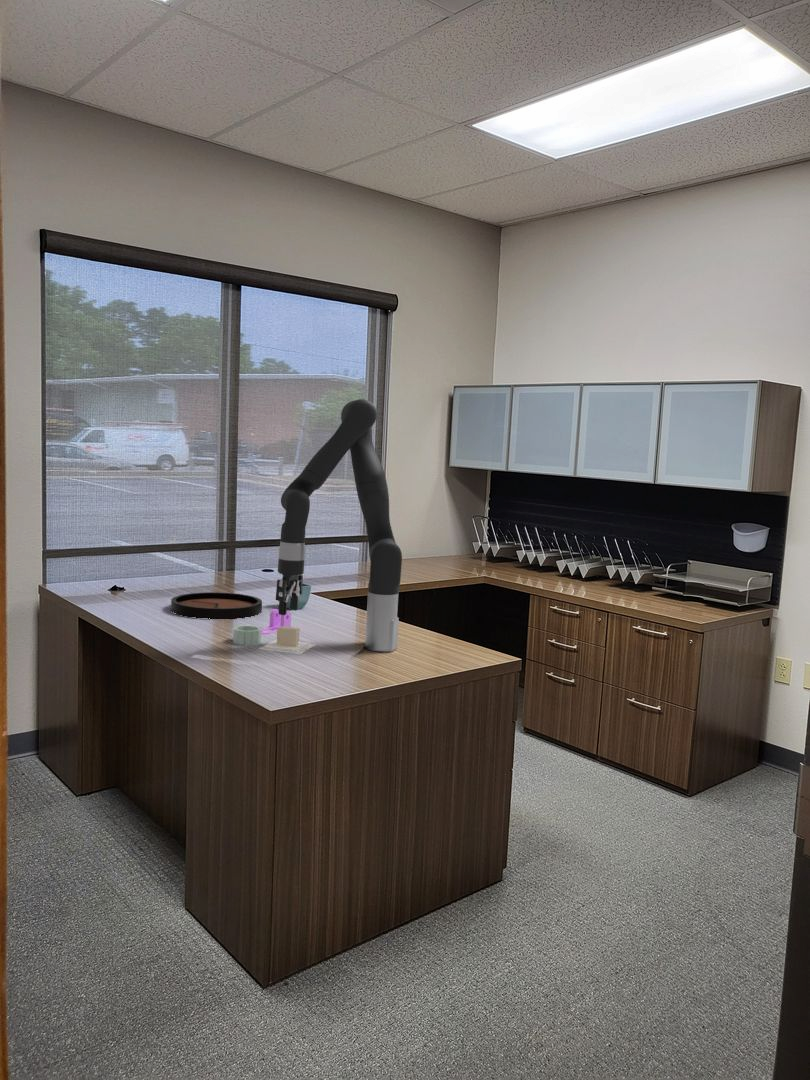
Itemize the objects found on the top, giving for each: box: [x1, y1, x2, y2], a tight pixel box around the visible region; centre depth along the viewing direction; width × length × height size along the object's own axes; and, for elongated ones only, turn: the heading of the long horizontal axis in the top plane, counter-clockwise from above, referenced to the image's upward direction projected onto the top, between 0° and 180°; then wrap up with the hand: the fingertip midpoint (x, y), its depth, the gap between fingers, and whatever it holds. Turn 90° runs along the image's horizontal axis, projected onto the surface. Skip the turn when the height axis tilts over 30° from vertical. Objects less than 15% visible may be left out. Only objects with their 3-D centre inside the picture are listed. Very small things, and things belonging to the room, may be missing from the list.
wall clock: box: [170, 591, 263, 620], centre depth 300 cm, size 31×4×31 cm
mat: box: [257, 639, 317, 655], centre depth 249 cm, size 13×13×1 cm
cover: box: [265, 626, 311, 652], centre depth 249 cm, size 10×10×6 cm
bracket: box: [261, 608, 292, 635], centre depth 269 cm, size 13×6×7 cm, turn 152°
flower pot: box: [285, 583, 312, 610], centre depth 312 cm, size 9×9×9 cm
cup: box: [232, 625, 262, 646], centre depth 252 cm, size 8×8×5 cm
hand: (288, 612), depth 248 cm, fingers open, 8 cm apart
